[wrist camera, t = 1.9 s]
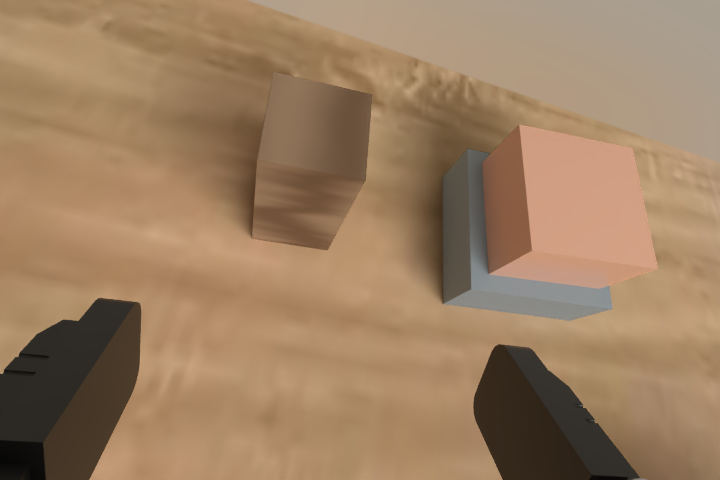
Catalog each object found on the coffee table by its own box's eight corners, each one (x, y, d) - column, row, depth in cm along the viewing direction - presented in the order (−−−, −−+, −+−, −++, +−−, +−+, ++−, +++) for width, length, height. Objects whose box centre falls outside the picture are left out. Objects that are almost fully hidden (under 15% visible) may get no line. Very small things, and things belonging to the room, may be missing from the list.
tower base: (441, 305, 31) (471, 289, 27) (440, 179, 35) (467, 148, 30) (566, 321, 33) (612, 308, 29) (553, 201, 37) (592, 174, 32)
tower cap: (488, 274, 27) (532, 250, 23) (481, 162, 30) (519, 124, 26) (599, 288, 29) (657, 269, 25) (582, 181, 32) (632, 148, 28)
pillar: (251, 238, 29) (257, 159, 20) (263, 171, 31) (273, 71, 22) (327, 250, 30) (365, 179, 21) (334, 185, 32) (372, 94, 23)
